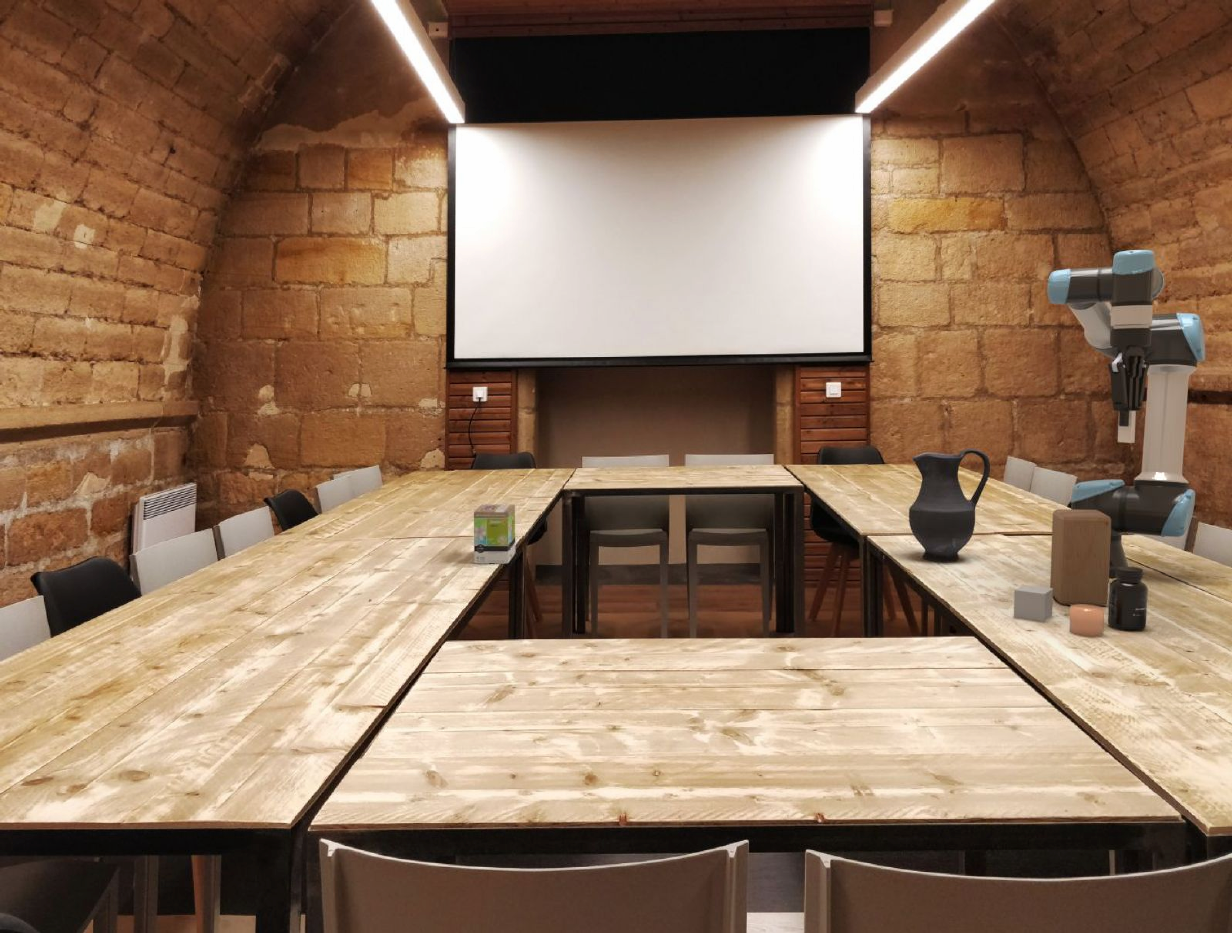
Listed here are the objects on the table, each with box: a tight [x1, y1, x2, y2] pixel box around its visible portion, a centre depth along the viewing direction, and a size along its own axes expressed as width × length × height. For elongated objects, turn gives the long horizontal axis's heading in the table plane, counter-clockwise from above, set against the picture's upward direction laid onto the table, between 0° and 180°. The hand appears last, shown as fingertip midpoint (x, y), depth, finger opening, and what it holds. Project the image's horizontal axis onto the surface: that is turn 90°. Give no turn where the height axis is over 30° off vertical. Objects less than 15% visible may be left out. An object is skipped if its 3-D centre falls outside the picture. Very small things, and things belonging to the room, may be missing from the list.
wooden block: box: [1049, 508, 1111, 607], centre depth 214 cm, size 10×10×20 cm
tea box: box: [473, 504, 516, 565], centre depth 271 cm, size 15×10×15 cm
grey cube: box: [1013, 584, 1054, 623], centre depth 202 cm, size 6×6×6 cm
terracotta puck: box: [1069, 604, 1105, 638], centre depth 190 cm, size 6×6×5 cm
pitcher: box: [908, 448, 991, 563], centre depth 261 cm, size 17×21×30 cm
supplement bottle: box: [1107, 565, 1149, 632], centre depth 193 cm, size 7×7×12 cm
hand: (1126, 442), depth 200 cm, fingers closed
